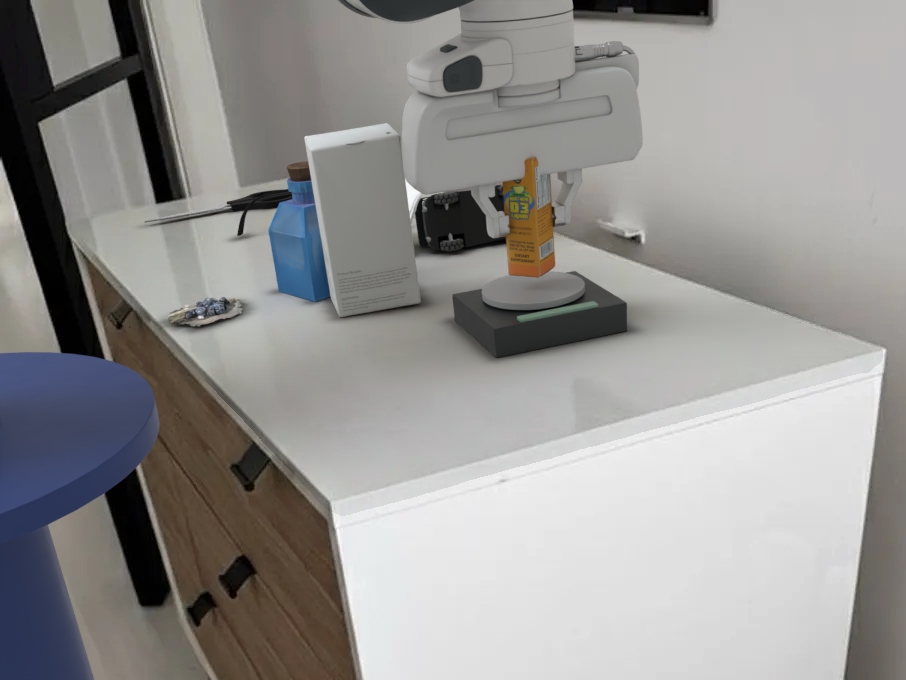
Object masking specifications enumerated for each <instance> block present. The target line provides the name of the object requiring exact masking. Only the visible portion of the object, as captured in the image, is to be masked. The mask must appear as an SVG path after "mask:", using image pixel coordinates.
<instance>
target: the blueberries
mask: <svg viewBox="0 0 906 680" xmlns="http://www.w3.org/2000/svg"><path fill="white" fill-rule="evenodd" d="M242 306H243V305H242V300H241V299H240V298H235V297H233V298H228V297H225V296H222V297H219V298H217V297H210V298H209V297H206V298H204V300H203V301H201V300H199V301H197V302H196V303H195V304H193V305H189V304H188V303H186V304H184V307H181V308H179V309H175V310H173V311H170V312H169V314H168V315H167V319H168V322H169V323H170V324H174V323H175V324H177V323H178V325H185V324H186V325H189V326H190V327H201V325H208V324H210V323H214V322H216V321H219V320H225V319H229V318H235V316H238V315H241V314H243V308H242Z"/></svg>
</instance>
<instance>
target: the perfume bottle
mask: <svg viewBox="0 0 906 680" xmlns="http://www.w3.org/2000/svg"><path fill="white" fill-rule="evenodd" d="M286 170H287V173H288V175H289V178H287V179H286V184H287V189H288V190H289V191H290V192H292V197H293V199H291V200H288V201H284V202H281V203H279V205H278V207H276V211H275V212H274V215H273V217H272V219H271V222H270V224H269V227H268V229H267V231H268V236H269V242H270V249H271V255H272V260H273V261H272V262H273V267H274V272H275V279H276V284H277V290H278V292H280V293H283V294H287V295H290V296H293V297H297V298H300V299H303V300H307V301H311V302H313V303H316V302H318V301H321V300H325V299H327V298H331V297H330V289H329V283H328V278H327V272H326V265H325V259H324V253H323V247H322V241H321V235H320V229H319V223H318V217H317V211H316V205H315V199H314V193H313V187H312V181H311V175H310V169H309V163H308V160H307V161H299V162H293V163H290V164H288V165H286Z"/></svg>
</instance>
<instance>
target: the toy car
mask: <svg viewBox="0 0 906 680" xmlns="http://www.w3.org/2000/svg"><path fill="white" fill-rule="evenodd" d="M489 200H490V201H491V203H492V204H493V206H494V207H495V209H496V211H497V212H499V211H502V212H504V197H503V184H497V185H495V196H494V197H489ZM504 213H505V212H504ZM414 218H415V224H416V231H417V239H418V245H419V247H420V248H427V247H431V249H433V250H436V251H439V252H440V251H443V252H453V251H458V250H461V249H463V248H464V247H465V248H468V247H473V246H478V245H482V244H487V243H492V242H496V241H500V240H501V241H502V240H506V236H503V237H498V238H492V237H490V236H489V235H488V232H487V224H486V214H484V212H483V211H482V210H481V208H480V207H479V205H478V204H477V202H476V201H475V199H474V198H473V196H472V195H471V189H470V190H461V191H460V190H459V191H458V190H455V191H454V190H452V191H446V192H440V193H434V194H430V196H426V197H421V198H420V200H419V202H418V205H417V208H416V212H415V215H414Z"/></svg>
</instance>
